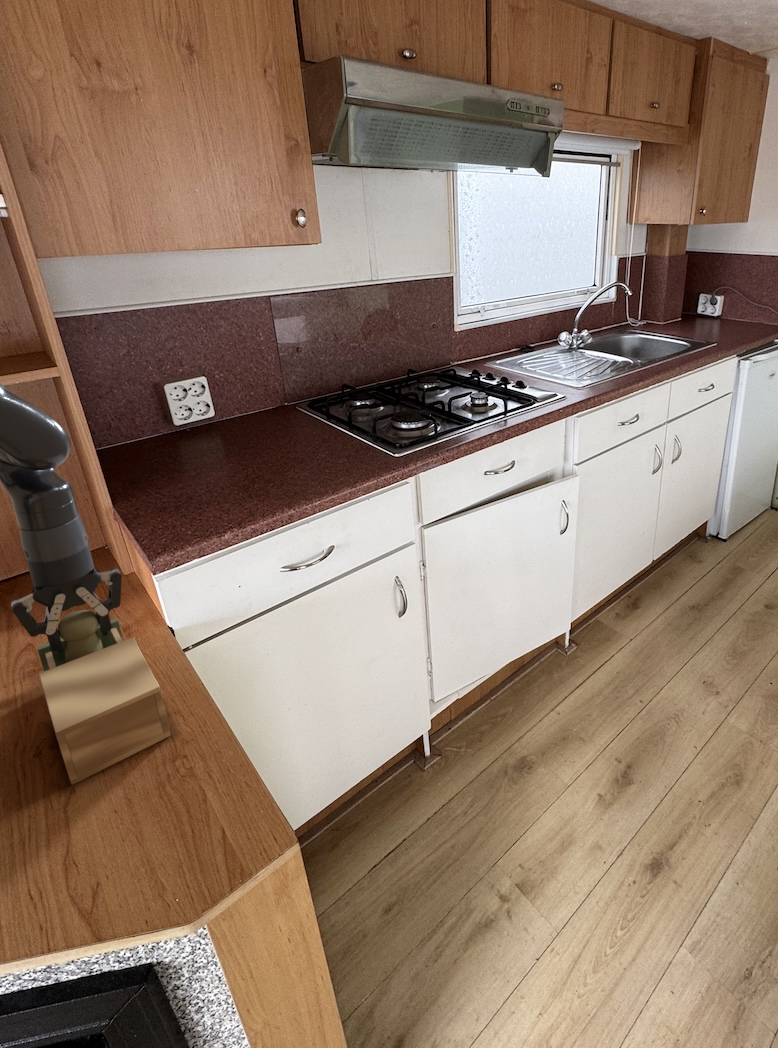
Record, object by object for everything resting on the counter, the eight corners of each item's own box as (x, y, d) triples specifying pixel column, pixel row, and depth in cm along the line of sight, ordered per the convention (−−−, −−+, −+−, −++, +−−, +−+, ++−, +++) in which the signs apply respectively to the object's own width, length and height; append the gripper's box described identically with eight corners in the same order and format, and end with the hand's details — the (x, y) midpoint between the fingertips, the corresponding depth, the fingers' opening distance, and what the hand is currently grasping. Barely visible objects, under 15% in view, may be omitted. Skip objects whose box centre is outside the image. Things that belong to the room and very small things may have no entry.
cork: (115, 675, 93) (104, 616, 90) (70, 693, 89) (56, 632, 85) (106, 656, 97) (94, 600, 94) (62, 673, 93) (48, 614, 89)
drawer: (42, 665, 97) (31, 629, 95) (117, 637, 104) (109, 602, 102) (62, 733, 84) (50, 693, 82) (146, 695, 91) (137, 657, 89)
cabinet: (53, 721, 87) (38, 673, 84) (144, 682, 95) (133, 636, 92) (71, 785, 77) (55, 733, 74) (170, 735, 85) (159, 686, 82)
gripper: (107, 522, 93) (128, 612, 98) (-9, 553, 83) (22, 650, 89) (119, 540, 87) (140, 633, 93) (-4, 575, 78) (28, 676, 84)
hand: (82, 641), depth 91 cm, fingers closed on cork, 5 cm apart
